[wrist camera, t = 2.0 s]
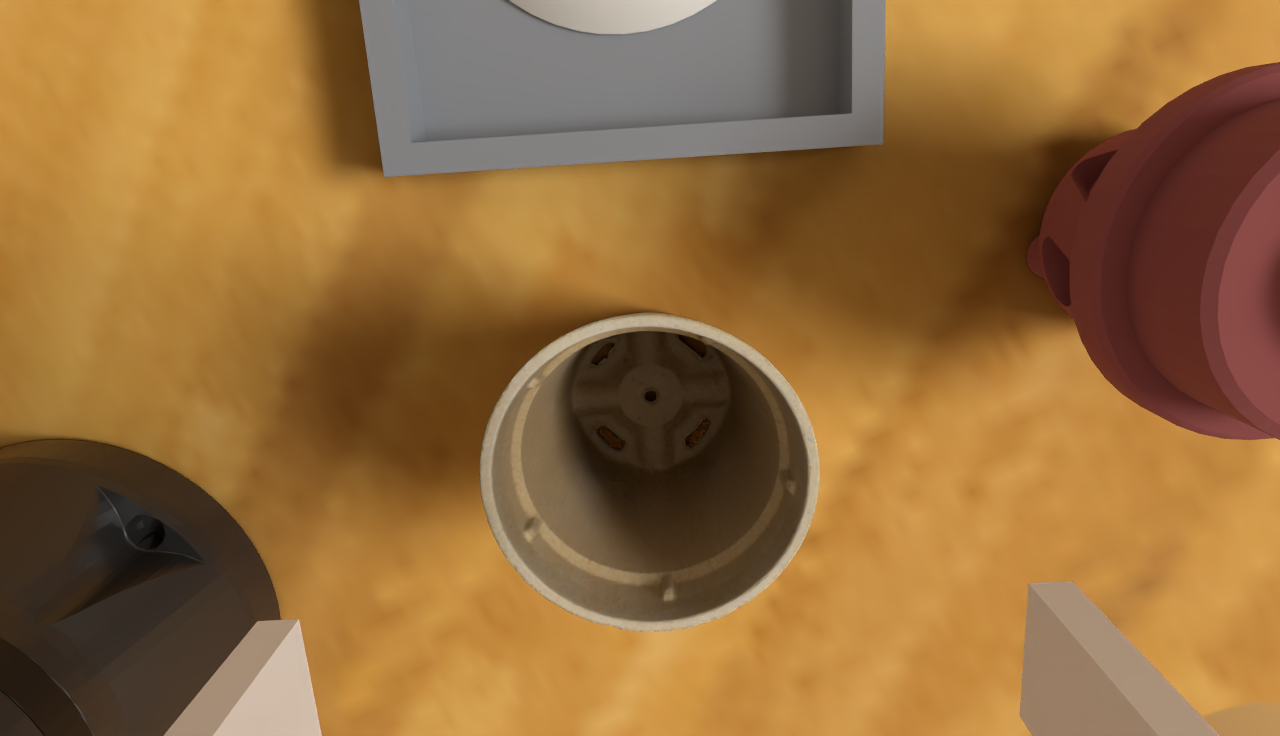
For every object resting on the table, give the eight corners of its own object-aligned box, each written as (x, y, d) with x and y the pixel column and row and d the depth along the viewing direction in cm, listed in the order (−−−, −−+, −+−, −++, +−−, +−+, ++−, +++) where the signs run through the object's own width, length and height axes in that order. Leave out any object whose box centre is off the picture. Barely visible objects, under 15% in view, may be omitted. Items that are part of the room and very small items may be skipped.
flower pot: (496, 469, 32) (444, 585, 24) (559, 235, 30) (525, 272, 21) (728, 532, 33) (756, 667, 24) (807, 308, 30) (869, 372, 22)
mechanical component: (1282, 308, 30) (1013, 401, 31) (1232, 34, 28) (942, 145, 29) (1696, 419, 18) (1240, 563, 19) (1673, -45, 16) (1152, 149, 17)
